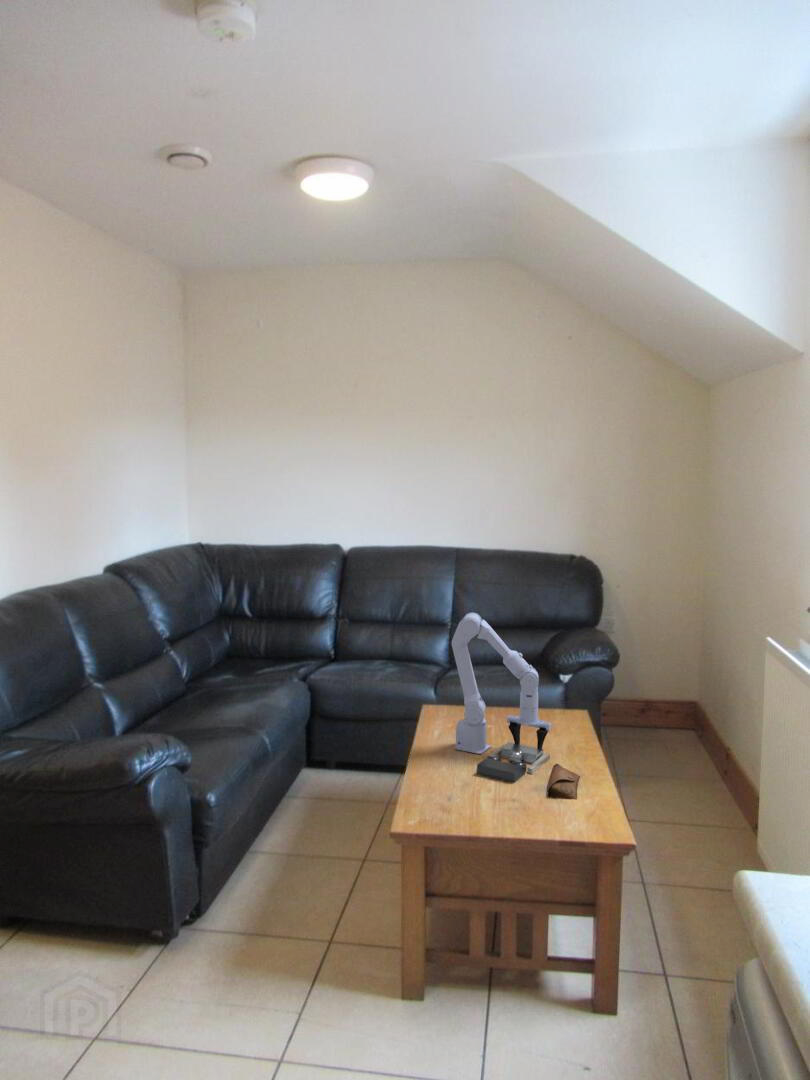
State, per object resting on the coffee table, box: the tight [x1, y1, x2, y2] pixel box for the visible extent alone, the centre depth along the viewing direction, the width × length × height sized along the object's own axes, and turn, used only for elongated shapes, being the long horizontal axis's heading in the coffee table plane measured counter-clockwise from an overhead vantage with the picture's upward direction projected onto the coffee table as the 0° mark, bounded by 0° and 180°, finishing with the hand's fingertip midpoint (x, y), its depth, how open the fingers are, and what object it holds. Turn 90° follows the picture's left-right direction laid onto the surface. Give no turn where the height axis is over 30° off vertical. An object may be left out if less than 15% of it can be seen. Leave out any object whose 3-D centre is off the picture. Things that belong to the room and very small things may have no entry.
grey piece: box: [499, 742, 545, 765], centre depth 238 cm, size 12×9×3 cm
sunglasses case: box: [547, 763, 581, 800], centre depth 218 cm, size 18×7×7 cm, turn 165°
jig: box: [483, 744, 551, 775], centre depth 236 cm, size 16×14×2 cm
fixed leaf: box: [476, 755, 528, 784], centre depth 227 cm, size 12×9×3 cm
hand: (528, 747), depth 244 cm, fingers open, 7 cm apart
